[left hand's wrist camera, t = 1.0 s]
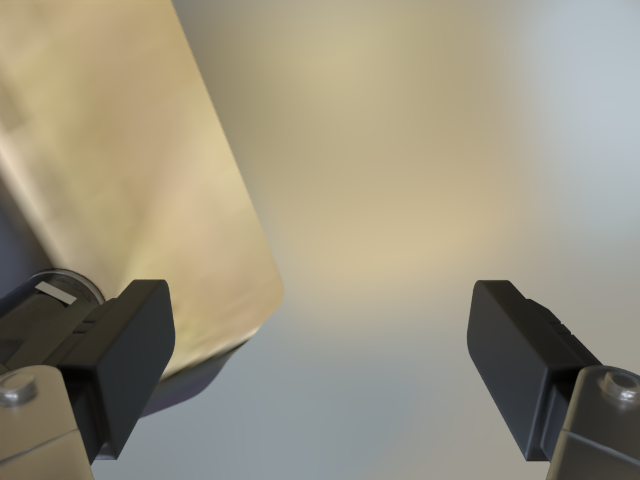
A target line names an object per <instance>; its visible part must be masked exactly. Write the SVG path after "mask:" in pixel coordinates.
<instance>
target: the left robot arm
mask: <svg viewBox="0 0 640 480" xmlns="http://www.w3.org/2000/svg"><path fill="white" fill-rule="evenodd" d="M467 345H468V350H469V354H470V356H471V358H472V360H473V362H474V364H475V366H476V368H477V370H478V372H479V374H480V375H481V377H482V379H483V381H484V383H485V385H486V387H487V388H488V390H489V392H490V394H491V396H492V398H493V400H494V402H495V403H496V405H497V407H498V409H499V411H500V413H501V415H502V416H503V418H504V420H505V422H506V424H507V426H508V428H509V430H510V431H511V433H512V435H513V437H514V439H515V441H516V443H517V445H518V446H519V448H520V450H521V452H522V454H523V456H524V458H525V460H526V461H549V462H550V467H549V470H548V474H547V477H546V480H640V376H639V375H637V374H635V373H632V372H630V371H627V370H624V369H620V368H616V367H612V366H605V365H603V364H602V363H601V362H600V361H599V360H598V359H597V358H596V357H595V356H594V355H593V354H592V353H591V352H590V351H589V350H588V349H587V348H586V347H585V346H584V345H583V344H582V343H581V342H580V341H579V340H578V339H577V338H576V337H575V336H574V335H571V332H570V331H569V330H568V329H567V328H566V327H565V326H564V324H561V321H560V320H559V319H558V318H557V317H556V316H555V315H554V314H553V313H552V312H551V311H550V310H549V309H547V308H545V307H544V306H542V305H540V304H538V303H537V302H535V301H533V300H531V299H526V298H525V297H524V296H523V295H522V294H521V293H520V292H519V291H518V290H517V289H516V288H515V286H514V285H513V284H512V283H511V282H510V281H508V280H478V281H477V282H476V283H475V285H474V289H473V296H472V302H471V309H470V316H469V323H468V330H467ZM174 346H175V328H174V321H173V314H172V307H171V300H170V293H169V287H168V284H167V282H166V281H165V280H133V281H132V282H131V283H130V284H129V285H128V286H127V288H126V289H125V290H124V291H123V292H122V293H121V294H120V295H119V296H118V297H117V298H112V299H110V300H108V301H107V302H104V299H103V297H102V295H101V294H100V292H99V291H98V289H97V288H96V287H95V286H94V285H93V284H92V283H91V282H90V281H88V280H87V279H86V278H84V277H82V276H80V275H79V274H76V273H74V272H71V271H67V270H62V269H48V270H44V271H40V272H38V273H36V274H34V275H33V276H32V277H30V278H29V279H27V280H26V281H25V282H24V283H23V284H22V285H20V286H19V287H18V288H16V289H15V290H13V291H12V292H10V293H9V294H7V295H6V296H5V297H3V298H2V299H0V480H94V477H93V474H92V470H91V467H90V466H91V465H92V463H93V461H94V460H117V458H118V457H119V455H120V453H121V451H122V449H123V447H124V445H125V443H126V442H127V440H128V438H129V436H130V434H131V432H132V430H133V428H134V426H135V424H136V423H137V421H138V419H139V417H140V415H141V413H142V411H143V409H144V407H145V406H146V404H147V402H148V400H149V398H150V396H151V394H152V392H153V390H154V389H155V387H156V385H157V383H158V381H159V379H160V377H161V375H162V373H163V371H164V370H165V368H166V366H167V364H168V362H169V360H170V358H171V356H172V354H173V351H174Z"/></svg>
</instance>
